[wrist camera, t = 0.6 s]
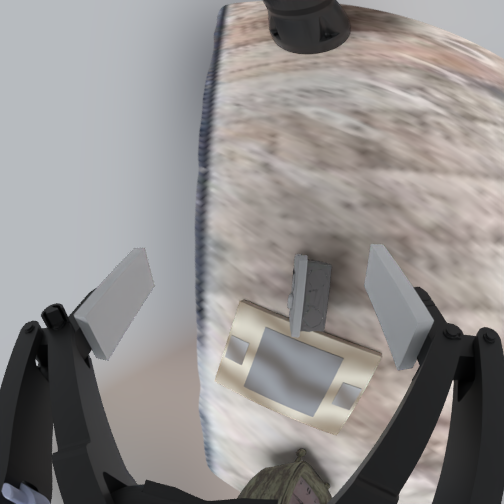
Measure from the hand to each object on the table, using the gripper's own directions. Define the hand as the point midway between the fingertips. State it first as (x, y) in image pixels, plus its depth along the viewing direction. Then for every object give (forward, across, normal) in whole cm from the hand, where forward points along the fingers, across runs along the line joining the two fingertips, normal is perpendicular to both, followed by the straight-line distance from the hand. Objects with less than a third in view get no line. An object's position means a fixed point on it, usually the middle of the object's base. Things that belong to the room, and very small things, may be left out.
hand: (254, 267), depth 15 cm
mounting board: (+13, +3, -26) cm, 29 cm away
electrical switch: (+18, +6, -14) cm, 24 cm away
